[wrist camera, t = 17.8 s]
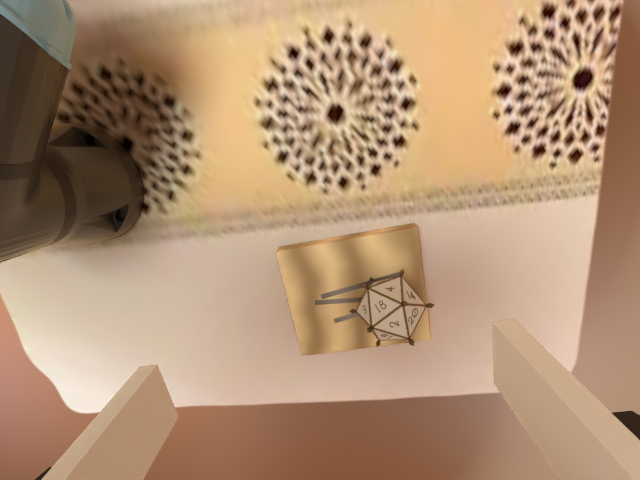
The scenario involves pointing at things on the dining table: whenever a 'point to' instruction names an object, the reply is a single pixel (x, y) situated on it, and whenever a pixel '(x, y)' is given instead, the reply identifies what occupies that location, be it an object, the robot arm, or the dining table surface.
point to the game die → (391, 309)
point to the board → (347, 285)
